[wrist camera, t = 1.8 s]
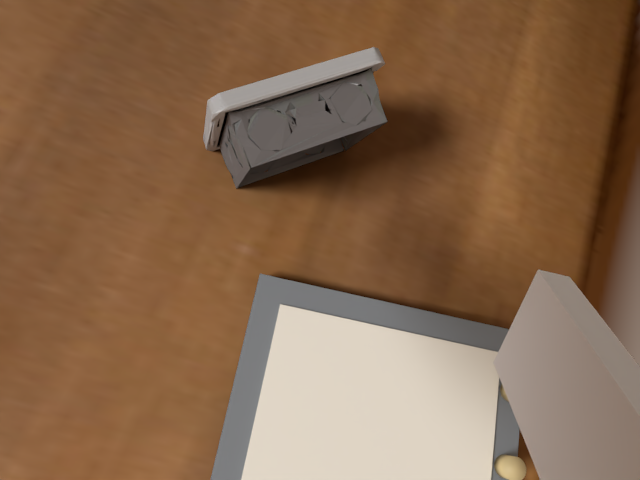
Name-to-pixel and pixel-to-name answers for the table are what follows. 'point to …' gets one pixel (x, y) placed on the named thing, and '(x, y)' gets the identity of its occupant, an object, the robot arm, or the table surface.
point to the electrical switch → (295, 116)
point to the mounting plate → (364, 393)
